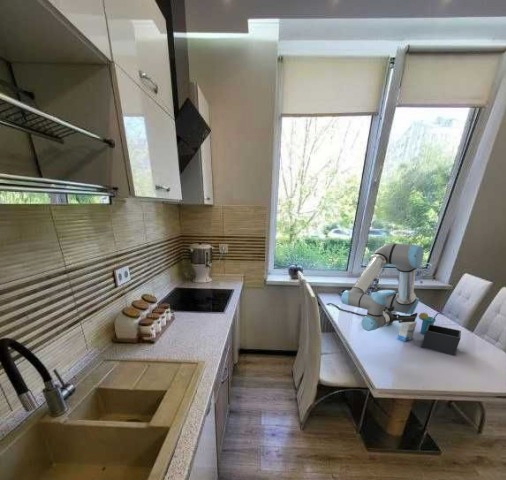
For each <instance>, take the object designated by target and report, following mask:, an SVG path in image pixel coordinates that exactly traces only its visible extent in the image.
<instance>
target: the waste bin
mask: <svg viewBox="0 0 506 480" xmlns="http://www.w3.org/2000/svg"><path fill="white" fill-rule="evenodd" d="M461 339H462V330H460V329H455V328H449V327H445V326H440V325H435V324H433V325H431V324H428V326H427V329H426V332H425V335H424V334H423V339H422V343H421V346H420V348H422V349H425V350H430V351H434V352H438V353H442V354H447V355H449V356H455V355H456V352H457V349H458V347H459V344H460V341H461Z"/></svg>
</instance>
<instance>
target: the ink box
mask: <svg viewBox="0 0 506 480" xmlns="http://www.w3.org/2000/svg"><path fill="white" fill-rule="evenodd" d="M410 315H411V314H408V316H410ZM417 324H418V322H417V321H416V320H415V322H402V323H401V325H400V329H399V332H398V336H397V339H398V340H400V341H402V342H408V341H409V340H412V339H413V337H414V334H415V330H416V326H417Z"/></svg>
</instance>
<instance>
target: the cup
mask: <svg viewBox="0 0 506 480" xmlns="http://www.w3.org/2000/svg"><path fill="white" fill-rule="evenodd" d="M438 315H443V316H444V315H445V313H444V312H437V313H436V314H435V315H434V316H429V315H428V313H426V312H421V313H419V315H418V318H419V320H421V321H422V322H421V326H420V334H421V335H423V336H424V335H425V332H426V329H427V326H428V324H431V325H435V323H436V321H437V320H436V318H437V316H438Z"/></svg>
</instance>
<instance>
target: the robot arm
mask: <svg viewBox="0 0 506 480" xmlns="http://www.w3.org/2000/svg"><path fill="white" fill-rule="evenodd" d="M424 252H425V251H424V247H423V246H421V245H418V244H409V243H396V242H389V243H386V244H384V245H382V246H380V247H379V248H377V249H376V250H375V251H373V253H372V254H371V255H370V256H369V260H368V261H369V262H368V263H367V265H366V266H365V268H364V269H363V271H362V272H361V274H360V275H359V276H358V278H357V280H356V281H355V283H354V284H353V286H352V287H351V289H350V290H344V291H343V292H342V294H341V297H340V301H341V304H343V305H346V306H350V307H355V308H359V309H363V310H367V311H366V314H362V313H358V312H356V311H355V312H354V311H351V310H347V309H343V308H341V307H339V306H338V305H337V304H334V303H332V302H329V303H326V305H331V306H334V307H336V308H337V309H338V310H340V311H344V312H347V313H352V314H355V315H358V316H363V318H362V320H361V323H360V324H361V327H362V329H363V330H364V331H366V332H372V331H376V330H377V329H380V328H383V327H386V326H390V325H391V324H393V323H394V322H398V324H402V322H415V321H416V319H417V317H418V312H416V309H417V307H418V304H419V302H420V298H419V297H417V295H416V293H415V292H414V291H415V280H416V279H415V278H416V270H417V269H418V268H419V267H421V266H422V264H423V260H424V254H425V253H424ZM386 265H394V266H395V269H396V271H398V281H397V282H398V285H397V286H398V287H397V288H398V290H397V291H398V292H396V290H393V289H381V290H378V291H373V292H371V293H370V294H368V293H367V291H368V290H369V288H370V287H371V285H372V283H373V282H374V280H375V279H376V277H377V276H378V274H379V273H380V271H381V270H382V268H384V267H386ZM366 293H367V294H366ZM393 312H395V313H393ZM397 313H401V314H403V315H401V314H397ZM404 314H405V315H404ZM409 315H410V316H409Z"/></svg>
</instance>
